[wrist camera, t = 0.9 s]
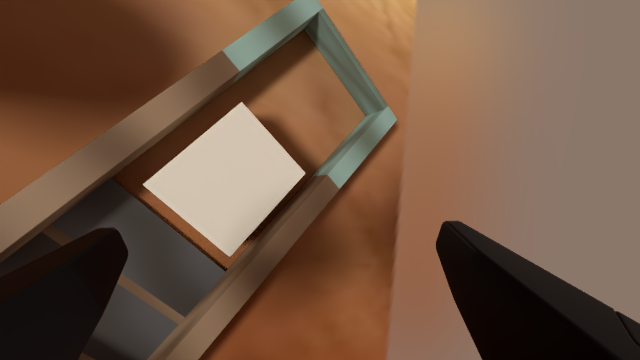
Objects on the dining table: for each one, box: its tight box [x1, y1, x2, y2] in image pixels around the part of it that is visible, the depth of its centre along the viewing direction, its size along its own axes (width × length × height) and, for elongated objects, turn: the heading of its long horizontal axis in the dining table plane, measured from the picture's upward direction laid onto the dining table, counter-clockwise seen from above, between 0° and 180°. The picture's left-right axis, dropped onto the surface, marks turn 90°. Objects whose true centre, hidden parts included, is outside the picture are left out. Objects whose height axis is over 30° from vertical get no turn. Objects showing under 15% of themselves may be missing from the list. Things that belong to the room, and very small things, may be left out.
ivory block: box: [143, 102, 306, 257], centre depth 17 cm, size 7×6×4 cm
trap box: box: [0, 0, 397, 360], centre depth 18 cm, size 26×12×2 cm, turn 135°
